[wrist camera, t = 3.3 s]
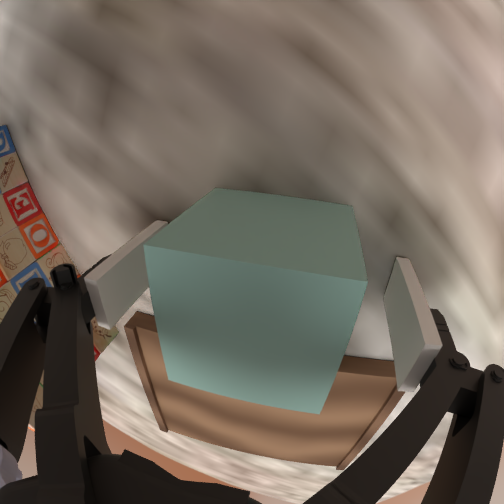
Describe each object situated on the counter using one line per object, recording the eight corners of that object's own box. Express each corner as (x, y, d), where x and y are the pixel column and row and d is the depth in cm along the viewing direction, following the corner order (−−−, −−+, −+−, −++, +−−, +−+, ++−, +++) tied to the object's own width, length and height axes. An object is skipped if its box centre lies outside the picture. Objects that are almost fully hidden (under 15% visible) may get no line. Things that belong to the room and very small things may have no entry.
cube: (216, 187, 15) (143, 244, 9) (352, 205, 14) (368, 281, 8) (216, 296, 19) (168, 379, 13) (328, 316, 17) (319, 414, 11)
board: (137, 311, 21) (124, 326, 19) (407, 362, 17) (411, 383, 16) (167, 417, 29) (160, 430, 27) (344, 455, 25) (343, 470, 23)
